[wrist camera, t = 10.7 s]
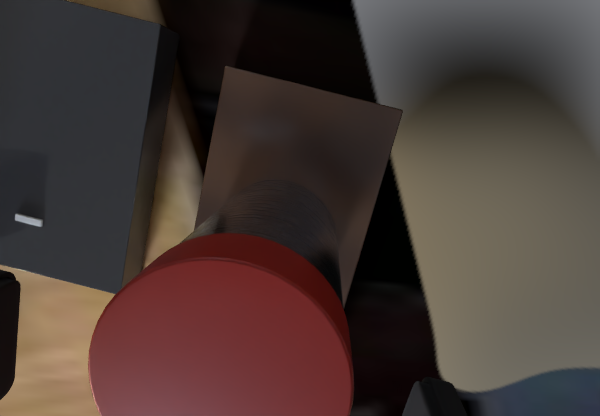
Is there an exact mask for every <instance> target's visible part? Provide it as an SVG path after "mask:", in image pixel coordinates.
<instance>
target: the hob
mask: <svg viewBox="0 0 600 416" xmlns="http://www.w3.org/2000/svg"><path fill="white" fill-rule="evenodd" d="M178 41H179V34H177V33H175V32H173V31H172V30H170V29H168V28H166V27H164V26H162V25H161V24H157V23H153V22H149V21H145V20H141V19H137V18H133V17H130V16H126V15H122V14H118V13H114V12H110V11H106V10H102V9H98V8H94V7H90V6H86V5H82V4H78V3H74V2H70V1H66V0H0V265H4V266H8V267H12V268H16V269H20V270H24V271H28V272H31V273H35V274H39V275H43V276H47V277H51V278H55V279H59V280H63V281H67V282H70V283H74V284H78V285H82V286H86V287H90V288H94V289H98V290H102V291H106V292H109V293H113V294H117V293H118V292H119V291H120V290H121V289H122V288H123V287H124V286H125V285H126V284H127V283H128V282H130V281H131V280H132V279H133V278H134V277H135V276H137V275H138V274H139V273H140V272H141V271H142V265H143V259H144V253H145V246H146V240H147V234H148V228H149V221H150V215H151V209H152V203H153V197H154V190H155V184H156V178H157V172H158V166H159V159H160V153H161V147H162V141H163V135H164V128H165V122H166V116H167V110H168V103H169V97H170V91H171V85H172V79H173V72H174V66H175V60H176V54H177V48H178Z"/></svg>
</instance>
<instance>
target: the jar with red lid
mask: <svg viewBox="0 0 600 416" xmlns="http://www.w3.org/2000/svg"><path fill="white" fill-rule="evenodd" d="M88 370H89V382H90V386H91V390H92V395H93V398H94V401H95V403H96V406H97V409H98V411H99V413H100V415H101V416H349V415H350V411H351V407H352V403H353V394H354V376H353V364H352V355H351V345H350V336H349V328H348V324H347V319H346V315H345V313H344V309H343V298H342V287H341V276H340V264H339V253H338V242H337V231H336V226H335V222H334V220H333V217H332V215H331V213H330V211H329V209H328V208H327V206H326V205H325V203H324V202H323V201H322V200H321V199H320V198H319V197H318V196H317V195H316V194H315V193H314V192H312V191H311V190H309V189H308V188H306V187H304V186H302V185H300V184H297V183H294V182H291V181H286V180H275V179H274V180H265V181H260V182H257V183H254V184H251V185H249V186H247V187H245V188H244V189H242V190H241V191H239V192H238V193H237V194H236V195H235V196H233V197H232V198H231V199H230V200H229V201H228V202H226V203H225V204H224V205H223V206H222V207H221V208H220V209H218V210H217V211H216V212H215V213H214V214H213V215H212V216H210V217H209V218H208V219H207V220H206V221H205V222H204V223H202V224H201V225H200V226H199V227H198V228H197V229H196V230H194V231H193V232H192V233H191V234H190V235H189V236H188V237H186V238H185V239H184V240H183V241H182V242H181V243H180V244H178V245H177V246H175V247H173V248H171V249H169V250H168V251H166V252H165V253H163V254H162V255H161V256H159V257H158V258H157V259H156V260H154V261H153V262H152V263H151V264H150V265H148V266H147V267H146V268H145V269H144V270H143V271H141V272H140V273H139V274H138V275H137V276H135V277H134V278H133V279H132V280H131V281H130V282H128V283H127V284H126V285H125V286H124V287H123V288H122V289H121V290H120V291H119V292H118V293H117V294H115V296H114V297H113V298H112V300H111V301H110V302H109V303H108V305H107V306H106V307H105V309H104V311H103V313H102V314H101V316H100V318H99V320H98V322H97V325H96V327H95V330H94V333H93V335H92V340H91V345H90V349H89V361H88Z"/></svg>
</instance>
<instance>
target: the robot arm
mask: <svg viewBox="0 0 600 416" xmlns="http://www.w3.org/2000/svg"><path fill="white" fill-rule="evenodd" d="M19 303H20V283H19V282H18V281H16V278H15V276H14V274H13V273H11V272H7V271H3V270H0V400H1V399H2V398H3V397H4V396H5V395H6V394H7V393H8V391H9V390H10V388H11V386H12V385H13V382H14V378H15V364H16V349H17V334H18V318H19ZM402 416H467V414H466V412H465V410H464V407H463V405H462V403H461V401H460V399H459V396H458V394H457V392H456V390H455V388H454V386H453V384H451V383H450V382H446V381H442V380H438V379H434V378H430V377H425V378H424V379H423V381H422V382H419V381H417V382H415V383H414V385H413V388H412V391H411V393H410V396H409V399H408V401H407V404H406V406H405V409H404V412H403V414H402Z"/></svg>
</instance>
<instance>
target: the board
mask: <svg viewBox="0 0 600 416" xmlns="http://www.w3.org/2000/svg"><path fill="white" fill-rule="evenodd" d="M402 113H403V111H402V110H401V109H396V108H393V107H389V106H385V105H380V104H377V103H373V102H369V101H365V100H361V99H357V98H353V97H349V96H345V95H341V94H337V93H333V92H329V91H325V90H321V89H317V88H313V87H309V86H305V85H301V84H297V83H294V82H290V81H286V80H282V79H278V78H274V77H270V76H266V75H262V74H258V73H254V72H250V71H246V70H242V69H238V68H234V67H230V66H226V67H225V70H224V76H223V81H222V86H221V91H220V97H219V102H218V107H217V112H216V118H215V123H214V128H213V134H212V139H211V144H210V149H209V155H208V160H207V165H206V170H205V176H204V181H203V186H202V191H201V197H200V202H199V207H198V212H197V218H196V223H195V228H194V230H196V229H197V228H198V227H199V226H200V225H201V224H202V223H204V222H205V221H206V220H207V219H208V218H209V217H210V216H212V215H213V214H214V213H215V212H216V211H217V210H218V209H220V208H221V207H222V206H223V205H224V204H225V203H226V202H228V201H229V200H230V199H231V198H232V197H233V196H235V195H236V194H237V193H238V192H239V191H241V190H242V189H244V188H245V187H247V186H249V185H251V184H254V183H257V182H260V181H265V180H274V179H275V180H286V181H291V182H294V183H297V184H300V185H302V186H304V187H306V188H308V189H309V190H311V191H312V192H314V193H315V194H316V195H317V196H318V197H319V198H320V199H321V200H322V201H323V202H324V203H325V205H326V206H327V208H328V209H329V211H330V213H331V215H332V217H333V220H334V222H335V226H336V231H337V242H338V253H339V264H340V276H341V287H342V298H343V309H344V307H345V304H346V300H347V297H348V294H349V290H350V287H351V283H352V280H353V277H354V273H355V270H356V267H357V263H358V260H359V257H360V253H361V250H362V247H363V243H364V240H365V237H366V233H367V230H368V226H369V223H370V220H371V216H372V213H373V210H374V206H375V203H376V200H377V196H378V193H379V190H380V186H381V183H382V180H383V176H384V173H385V170H386V166H387V163H388V159H389V156H390V153H391V149H392V146H393V143H394V139H395V136H396V133H397V129H398V126H399V123H400V119H401V116H402Z"/></svg>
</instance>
